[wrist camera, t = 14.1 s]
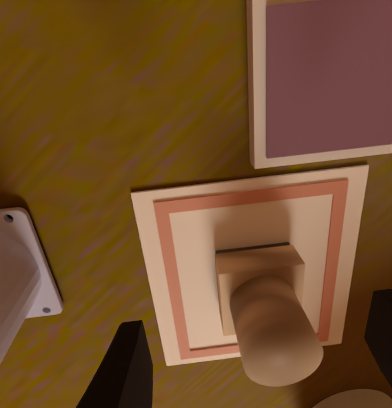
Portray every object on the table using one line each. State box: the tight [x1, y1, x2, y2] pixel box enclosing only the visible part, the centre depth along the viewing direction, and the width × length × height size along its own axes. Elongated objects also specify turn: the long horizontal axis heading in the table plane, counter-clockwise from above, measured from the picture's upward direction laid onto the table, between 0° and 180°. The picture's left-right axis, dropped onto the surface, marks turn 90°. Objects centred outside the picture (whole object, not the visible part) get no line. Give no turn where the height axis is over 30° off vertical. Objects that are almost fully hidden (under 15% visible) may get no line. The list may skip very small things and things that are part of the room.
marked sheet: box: [131, 165, 369, 366], centre depth 21 cm, size 14×15×1 cm
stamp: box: [215, 242, 323, 386], centre depth 18 cm, size 5×5×6 cm
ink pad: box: [246, 0, 392, 169], centre depth 15 cm, size 8×8×2 cm
